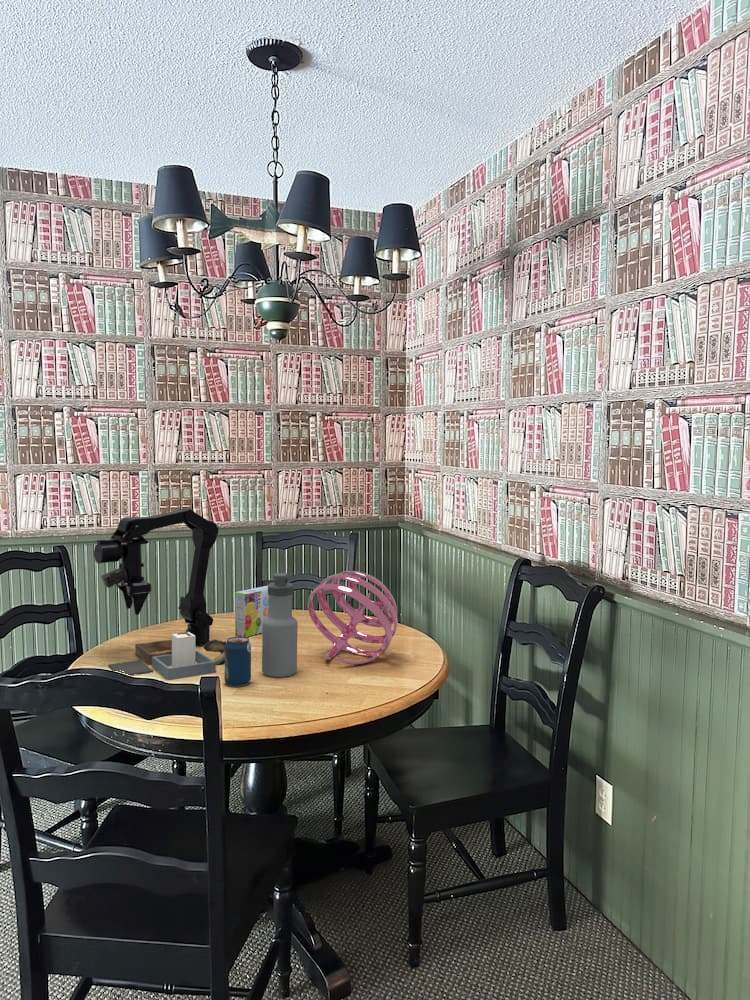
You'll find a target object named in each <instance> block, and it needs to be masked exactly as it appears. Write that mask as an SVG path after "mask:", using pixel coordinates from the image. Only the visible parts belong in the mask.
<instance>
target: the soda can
mask: <svg viewBox="0 0 750 1000" xmlns="http://www.w3.org/2000/svg"><path fill="white" fill-rule="evenodd" d="M251 679H252V644H251V642H250V638H249V637H242V636H231V637H229V638H227V640H226V644H225V661H224V681H225V683H226V685H227V684H228V685H227V686H229V685H230V686H229V687H233V686H236V687H237V686H240V687H244V686H247V685H249V683H250V681H251ZM237 688H238V687H237Z"/></svg>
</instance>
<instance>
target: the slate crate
mask: <svg viewBox="0 0 750 1000" xmlns="http://www.w3.org/2000/svg"><path fill="white" fill-rule="evenodd" d="M195 661H197V662H196V663H195V664H192V665H185V666H179V667H172V654H169V655H162V656H155V657H152V665H151V668H152V667H153V668H154V669H153V670H155V671H156V672H157V673H158V672H159V673H158V674H160V675H161V676H162V677H163V678H165V680H168V681H169V680H176V679H182V678H183V679H184V678H188V677H189V678H191V677H195V676H201V674H202V675H207V674H208V675H209V674H214V673H216V671H217V665H216V662H215V661H214V660H213V659H212V658H211V657H209V656H207V655H206V654H204V653H203V652H201V651H199V649H198V650H195ZM170 666H171V667H170ZM213 672H214V673H213Z"/></svg>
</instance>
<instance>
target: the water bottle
mask: <svg viewBox="0 0 750 1000" xmlns="http://www.w3.org/2000/svg"><path fill="white" fill-rule="evenodd" d="M273 580H274V581H273V582H270V583H269V584H267V586H268V596H269V610H268V617H267V618H265V619H264V621H263V625H262V633H261V634H262V635H261V637H262V638H261V639H262V643H261V647H262V648H261V672H262V673H263V675H265V676H267V677H270V676H271V677H272V678H287V677H291V676H293V675H295V674H296V673H297V669H298V630H299V629H298V625H299V623H298V620H297V619H296V618H295V617H294V616H293V596H294V584H292V583H291V582H289V580H288V572H274V574H273ZM290 675H291V676H290ZM286 676H287V677H286Z"/></svg>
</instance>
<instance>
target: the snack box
mask: <svg viewBox="0 0 750 1000" xmlns="http://www.w3.org/2000/svg"><path fill="white" fill-rule="evenodd" d="M234 605H235V607H234V609H235V610H234V611H235V612H234V614H235V617H234V618H235V620H234V621H235V623H234V624H235V628H234V629H235V636H236V635H240V636H239V637H242V636H243V637H247V638H249V637H248V636H250V637H252V636H251V635H253V636H256V635H255V634H257V635H260V634H259V633H261V634H262V625H263V621H264V619H265V618H267V617H268V610H269V596H268V585H265V586H258V587H253V588H250V589H244V590H239V591H235V592H234Z"/></svg>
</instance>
